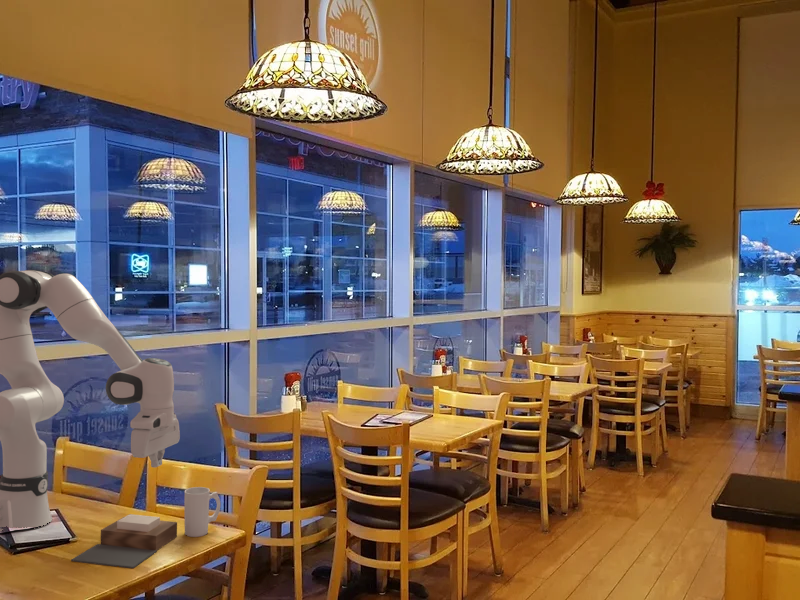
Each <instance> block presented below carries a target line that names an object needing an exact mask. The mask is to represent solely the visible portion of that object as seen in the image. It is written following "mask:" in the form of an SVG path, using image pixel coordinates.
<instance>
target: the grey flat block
mask: <svg viewBox="0 0 800 600" xmlns="http://www.w3.org/2000/svg"><path fill="white" fill-rule="evenodd" d="M123 517H124V518H123ZM123 517H121V518H122V519H121V518H120V520H119V519H118V520H119V521H118V520H116V521H117V529H124V530H134V531H143V532H149V531H150V530H152V529H154V528H155V527H157V526H158V525H160V520H161V517H160V516H153V515H152V516H151V515H140V514H131V513H130V514H127V515H125V516H123Z"/></svg>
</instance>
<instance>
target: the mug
mask: <svg viewBox="0 0 800 600" xmlns="http://www.w3.org/2000/svg"><path fill="white" fill-rule="evenodd" d="M211 499H214V500H215V502H216V508H215V511H214V513H213V514H212V515H209V513H210V500H211ZM183 504H184V506H183V507H184V535H185V536H186V535H187V536H186V537H192V538H198V537H203V536H206V535H207V534H208V532H209V524H210V523H211V522H216V520H217V518H218V516H219V513H220V509H221V499H220V497H219V495H218V491H214V492H212V493H210V488H209V487H203V486H198V487H197V486H195V487H194V486H193V487H189V488H187V489H185V490H184V503H183Z"/></svg>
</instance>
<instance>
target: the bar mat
mask: <svg viewBox="0 0 800 600" xmlns="http://www.w3.org/2000/svg"><path fill="white" fill-rule="evenodd" d="M157 551H158V550H148V549H139V548H130V547H121V546H112V545H103V544H101V543H97V544H95V545H93V546H92V547H89V548H88V549H87V550H85V551H83V552H82V553H80V554H78V555H76V556H75V557H73V558H71V560H70V561H71V562H76V563H84V564H85V563H86V564H92V565H93V564H94V565H100V566H101V565H103V566H111V567H117V566H119V568H128V569H135V568H136V567H137V566H139V565H140V564H142V563H143V562H145V561H146V560H147V559H149V558H150V557H152V556H153V555H155V554H156V553H157ZM154 553H155V554H154ZM144 560H145V561H144Z"/></svg>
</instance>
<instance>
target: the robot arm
mask: <svg viewBox="0 0 800 600" xmlns="http://www.w3.org/2000/svg"><path fill="white" fill-rule="evenodd" d="M47 308H48V309H49V310H50V311H51V313H52V314H53V315H54V317H55V318H56V320H57V322H58V323H59V325H60V326H61V328H62V329H63V330H64V331H65V332H66V334H67V335H68V336H70V337H71V338H72V339H74V340H75V341H79V342H84V343H89V344H92V345H95V346H97V347H99V348H101V349H102V350H103V351H104V352H106V353H107V354H108V355H109V357H110V358H111V359H112V361H113V362H114V363H115V365H116V366H117V367H118V368H119V369H120V370H119V371H117V372H116V371H115V373H112V374H111V375H110V376H109V377H108V378H107V380H106V382H105V393H106V396H107V397H108V399H109V400H110V401H111V402H112V403H114V404H115V405H120V406H121V405H122V406H126V405H127V406H128V405H132V404H134V403H137V404H139V406H140V411H138V412H137V414H136V416H134V417H133V418H132V419H131V420H130V424H129V425H130V428H131V429H132V430H131V434H130V453H131V455H132V456H133V458H141V459H143V458H147V457H149V460H150V466H151V468H158V467H160V466H162V465H163V458H164V455H165V452H166V451H165V450H166V449H167V448H169V447H172V446H173V445H176V444H178V443H179V442H180V437H181V434H180V423H179V419H178V418H177V414H176V413H175V410H174V409H175V404H174V401H173V394H174V392H175V379H174V377H175V376H174V369H173V366H172V364H171V362H170V361H167V360H166V359H162V358H159V357H158V358H157V357H155V358H154V357H148V358H144V359H142V357H141V356H139V354H138V353H137V352H136V351H135V349H134V348H133V347H132V345H131V344H130V343H129V342H128V340H127V338H126V337H124V335H123V334H122V333H121V332H120V331H119V329H118V328H117V327H116V326H115V325H114V324H113V323H112V322H111V320H110V319H109V318H108V317H107V316H106V314H105V313H104V311H103V310H102V309H101V307H100V306H99V305H98V304H97V302H96V300H95V298H94V297H93V296H92V294H91V293H90V291H89V290H88V289H87V288H86V287H85V286H84V285H83V284H82V282H80V281H79V279H77V277H75V276H74V275H73V274H71V273H59V274H56V275H53V273H50V272H47V271H43V270H42V271H39V270H33V269H25V270H10V271H7V272H4V273H3V272H2V274H0V375H1V376H3V377H4V378H5V379H6V380H7V382H8V384H9V385H10V389H6V390H2V391H1V392H0V445H1V448H2V474H0V527H6V526H7V527H10V528H13V527H16V528H17V527H18V528H22V527H23V528H25V527H26V528H27V527H38V526H41V527H44V526H46V525H48V524H50V523H51V522H52V521H53V517H52V513H51V511H50V507H49V506H50V505H49V498H48V487H49V471H48V470H47V461H48V459H47V457H48V456H47V454H48V453H47V451H48V448H47V447H48V446H47V444H46V442H45V441H44V440H42V439H40V437H39V435H38V432H37V429H36V424H37V423H40V422H42V421H46V420H49V419H51V418H52V417H53V416H55V415H56V414H57V413H59V412H60V411H61V410H62V408H63V406H64V404H65V397H64V393H63V392H62V390H61V388H60V387H59V386H57V385H56V384H54V383H53V382H52V381H51V380H50V378H49V377H48V375H47V374H46V372H45V370H44V369H43V367H42V365H41V363H40V361H39V357H38V353H37V349H36V346H35V341H34V337H33V332H32V329H31V324H30V318H31V315H32V314H39V313H40V312H42V311H43V310H45V309H47ZM49 522H50V523H49ZM47 523H48V524H47ZM43 525H44V526H43ZM38 528H39V527H38ZM2 530H3V529H0V531H2Z"/></svg>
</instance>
